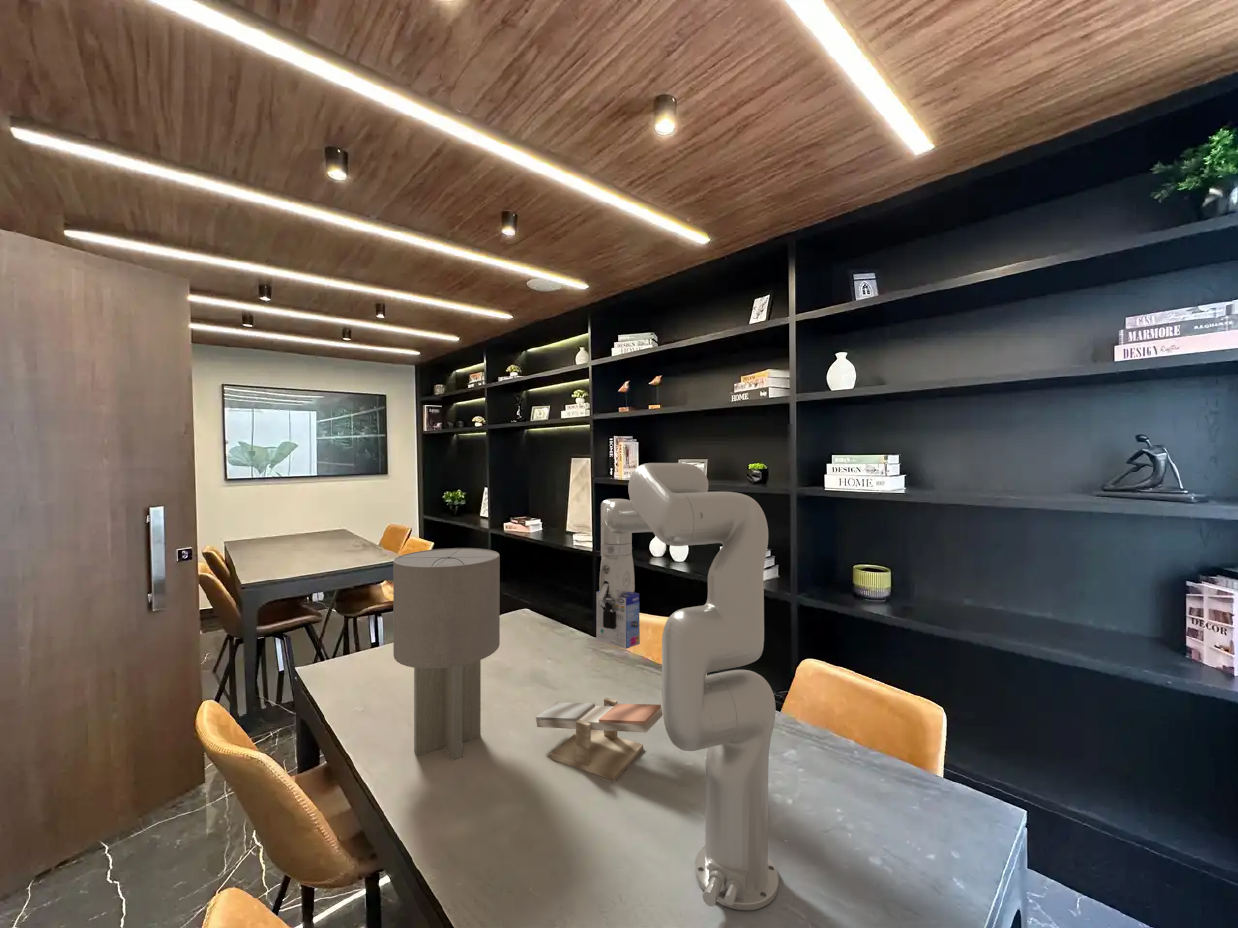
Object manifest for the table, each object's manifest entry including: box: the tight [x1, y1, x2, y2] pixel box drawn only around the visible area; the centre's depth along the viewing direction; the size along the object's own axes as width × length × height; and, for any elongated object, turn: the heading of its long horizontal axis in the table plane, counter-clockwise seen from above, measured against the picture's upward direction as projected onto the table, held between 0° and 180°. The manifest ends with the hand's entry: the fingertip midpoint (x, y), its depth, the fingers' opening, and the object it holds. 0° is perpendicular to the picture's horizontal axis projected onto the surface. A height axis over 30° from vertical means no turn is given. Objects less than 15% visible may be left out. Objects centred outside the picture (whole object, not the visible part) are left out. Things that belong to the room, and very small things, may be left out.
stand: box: [550, 697, 644, 781], centre depth 112 cm, size 16×13×10 cm
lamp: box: [392, 547, 501, 761], centre depth 116 cm, size 23×23×43 cm
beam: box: [535, 701, 663, 733], centre depth 112 cm, size 28×10×2 cm, turn 61°
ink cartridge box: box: [595, 590, 641, 650], centre depth 123 cm, size 10×6×14 cm, turn 50°
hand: (616, 623), depth 123 cm, fingers closed on ink cartridge box, 6 cm apart
